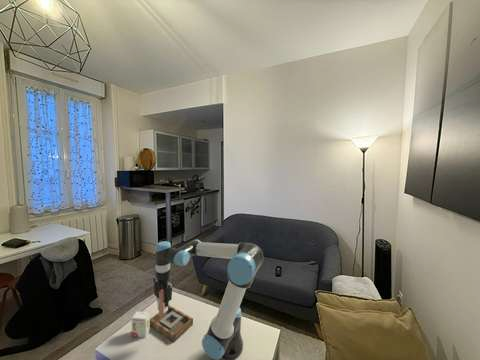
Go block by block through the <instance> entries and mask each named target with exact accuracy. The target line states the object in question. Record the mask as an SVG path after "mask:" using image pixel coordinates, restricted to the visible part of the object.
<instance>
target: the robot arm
mask: <svg viewBox="0 0 480 360" xmlns="http://www.w3.org/2000/svg"><path fill="white" fill-rule="evenodd" d="M155 246H156V247H155V278H152V279H153V288H154V289H153V290H154V291H153V294H154V296H155V297H156V300H157V301H156V302H157V303H156V304H157V310H158V311H159V290H161V289H162V290H163V294H164V301H163V313H165V312H166V311H168V306H169V305H170V304H169V303H170V301H171V300H172V297H173V286H174V283H171V281H170V276H171V264H172V265H174V266H180V267H185V266H187V265H188V263H189V262H190V258H191V257H194V256H200V257H210V258H221V259H228V260H229V259H230V260H229V262H228V265H227V280H228V283H227V286H226V287H225V290H224V291H225V292H224V293H223V294H224V295H223V296H222V299H221V303H220V306H219V308H218V311H217V314H216V316H214V317H213V318H212V320H211V322H210V324H209V327H208V330H207V332H206V333H205V334H204V335H203V338H202V340H201V346H202V349H203V351H204V352H205V354H207V356H208V357H209V358H211V359H213V360H220V359H221V358H222V359H224V360H235V359H236V358H238V357H239V356H241V354H242V352H243V350H244V349H243V348H244V340H243V338H242V334H241V328H242V327H241V325H242V310H241V309H242V308H241V307H240V306H241V304H242V301H243V298H244V295H245V293H246V291H247V289H249V288H250V287H251V286H252V283H253V281H254V279H255V276H256V274H257V272H258V270H259V268H260V267H261V266H262V264H263V262H264V252H263V250H262V248H261V247H259V246H258V245H257V244H255V243H252V242H239V243H238V244H237V243H221V242H220V243H219V242H204V241H203V242H202V241H201V240H199V239H194V240H191V241H189V242H188V243H185V244H184V245H182V246H181V247H177V248H175V247H172V244H171V242H170V241H168V240H165V241H159V242H158V243H156V245H155Z"/></svg>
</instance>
